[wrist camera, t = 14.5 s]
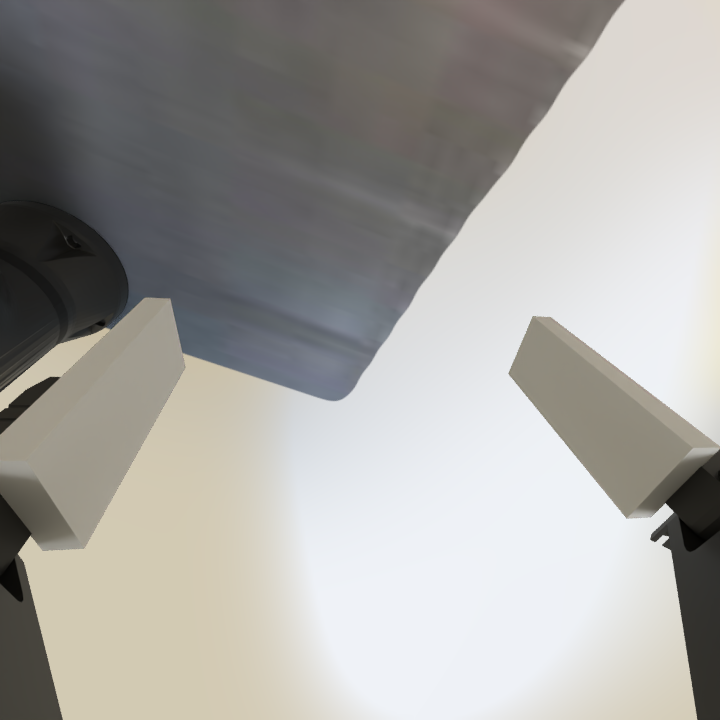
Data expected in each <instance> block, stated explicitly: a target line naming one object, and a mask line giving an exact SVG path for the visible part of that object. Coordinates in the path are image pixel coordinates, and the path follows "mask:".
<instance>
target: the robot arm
mask: <svg viewBox="0 0 720 720" xmlns="http://www.w3.org/2000/svg"><path fill="white" fill-rule="evenodd" d="M127 297H128V284H127V279H126V275H125V272H124V270H123V267H122V265H121V263H120V261H119V260H118V258H117V256H116V255H115V253H114V252H113V250H112V249H111V248H110V247H109V245H108V244H107V243H106V242H105V241H104V240H103V239H102V238H101V237H100V236H99V235H98V234H97V233H96V232H95V231H93V230H92V229H91V228H90V227H88V226H87V225H86V224H84V223H83V222H81V221H80V220H78V219H77V218H75V217H73V216H71V215H70V214H68V213H66V212H64V211H61V210H59V209H57V208H54V207H51V206H48V205H45V204H41V203H36V202H30V201H9V202H3V203H0V392H1V391H2V390H4V389H5V388H6V387H7V386H8V385H9V384H11V383H12V382H13V381H14V380H15V379H17V378H18V377H19V376H20V375H21V374H23V373H24V372H25V371H26V370H27V369H28V368H30V367H31V366H32V365H33V364H34V363H36V362H37V361H38V360H39V359H40V358H42V357H43V356H44V355H45V354H46V353H48V352H49V351H50V350H51V349H52V348H54V347H55V346H56V345H57V344H60V343H63V342H67V341H70V340H74V339H77V338H80V337H84V336H88V335H91V334H94V333H96V332H98V331H100V330H102V329H103V328H105V327H107V326H108V325H109V324H110V323H111V322H112V321H114V320H115V319H116V318H117V317H118V316H119V315H120V314H121V312H122V311H123V309H124V307H125V305H126V302H127ZM184 369H185V364H184V359H183V354H182V350H181V345H180V341H179V336H178V332H177V327H176V322H175V318H174V313H173V309H172V304H171V300H170V299H165V298H144V299H143V300H142V301H141V302H140V303H139V304H138V305H137V306H136V307H134V308H133V309H132V310H131V311H130V312H129V313H128V314H127V315H126V316H125V317H124V318H123V319H122V320H121V321H120V322H119V323H118V324H117V325H115V326H114V327H113V328H112V329H111V330H110V331H109V332H108V333H107V334H106V335H105V336H104V337H103V338H102V339H101V340H100V341H99V342H98V343H97V344H95V345H94V346H93V347H92V348H91V349H90V350H89V351H88V352H87V353H86V354H85V355H84V356H83V357H82V358H81V359H80V360H79V361H78V362H77V363H75V364H74V365H73V366H72V368H70V369H69V370H68V371H67V372H66V373H65V374H64V375H63V376H62V377H49V378H47V379H46V380H44V381H42V382H40V383H38V384H36V385H34V386H32V387H30V388H29V389H27V390H25V391H24V392H23V393H22V394H21V395H20V396H18V397H17V398H16V399H15V400H14V401H13V402H12V403H11V404H9V407H8V408H5V409H4V410H3V411H1V412H0V720H63V719H62V715H61V712H60V707H59V703H58V699H57V695H56V691H55V687H54V683H53V679H52V675H51V671H50V666H49V662H48V658H47V654H46V650H45V646H44V642H43V638H42V634H41V630H40V626H39V622H38V618H37V614H36V610H35V606H34V602H33V598H32V594H31V590H30V585H29V581H28V578H27V574H26V569H25V565H24V562H23V561H22V559H20V557H19V555H18V552H19V551H20V549H21V548H22V546H23V545H24V544H25V542H26V541H27V540H28V538H29V537H30V535H31V537H32V538H33V539H34V540H35V541H36V543H37V544H38V545H39V546H40V548H41V549H42V550H43V551H48V550H66V549H84V548H85V546H86V544H87V543H88V541H89V539H90V537H91V535H92V534H93V532H94V530H95V528H96V527H97V525H98V523H99V521H100V519H101V518H102V516H103V514H104V512H105V510H106V509H107V507H108V505H109V503H110V502H111V499H112V498H113V496H114V494H115V493H116V491H117V489H118V487H119V485H120V484H121V482H122V480H123V478H124V476H125V475H126V473H127V471H128V469H129V468H130V466H131V464H132V462H133V460H134V459H135V457H136V455H137V453H138V451H139V450H140V448H141V446H142V444H143V442H144V441H145V439H146V437H147V435H148V434H149V432H150V430H151V428H152V426H153V425H154V423H155V421H156V419H157V417H158V416H159V414H160V412H161V410H162V408H163V407H164V405H165V403H166V401H167V400H168V398H169V396H170V394H171V392H172V391H173V389H174V387H175V385H176V383H177V382H178V380H179V378H180V376H181V374H182V373H183V371H184ZM509 375H510V376H511V377H512V379H513V380H514V381H515V382H516V384H517V385H518V386H519V387H520V389H521V390H522V391H523V392H524V393H525V395H526V396H527V397H528V398H529V400H530V401H531V402H532V403H533V404H534V406H535V407H536V408H537V409H538V410H539V412H540V413H541V414H542V415H543V417H544V418H545V419H546V420H547V422H548V423H549V424H550V425H551V426H552V427H553V429H554V430H555V431H556V433H557V434H558V435H559V436H560V437H561V439H562V440H563V441H564V442H565V444H566V445H567V446H568V447H569V449H570V450H571V451H572V452H573V453H574V455H575V456H576V457H577V458H578V460H579V461H580V462H581V463H582V464H583V466H584V467H585V468H586V469H587V470H588V472H589V473H590V474H591V475H592V477H593V478H594V479H595V480H596V482H597V483H598V484H599V485H600V486H601V488H602V489H603V490H604V491H605V492H606V494H607V495H608V496H609V497H610V499H612V501H613V502H614V504H615V505H616V506H617V507H618V508H619V510H621V512H622V513H623V514H624V516H625V517H626V518H645V517H652V516H653V515H654V514H655V513H656V512H657V511H658V510H659V509H660V508H661V507H662V506H663V505H664V504H665V503H666V504H667V505H668V506H669V507H670V508H671V509H672V510H673V511H674V513H673V514H672V515H671V516H670V517H669V518H668V519H667V520H666V521H665V522H664V523H663V524H662V525H661V526H660V527H659V528H658V529H656V531H654V532H653V533H652V535H651V540H652V541H654V542H656V541H657V540H658V539H659V538H660V537H661V536H662V535H665V536H669V539H668V540H667V541H666V542H665V543H664V544H663V546H664V547H666V548H668V549H670V550H671V552H672V559H673V564H674V571H675V578H676V584H677V591H678V597H679V603H680V610H681V617H682V623H683V629H684V636H685V642H686V649H687V655H688V662H689V668H690V674H691V681H692V687H693V694H694V700H695V707H696V713H697V719H698V720H720V446H719V445H717V444H716V443H715V442H713V441H712V440H711V439H709V438H708V437H707V436H705V435H704V434H703V433H702V432H700V431H699V430H698V429H696V428H695V427H694V426H692V425H691V424H690V423H689V422H687V421H686V420H685V419H683V418H682V417H681V416H679V415H678V414H677V413H675V412H674V411H673V410H671V409H670V408H669V407H668V406H666V405H665V404H663V403H662V402H661V401H660V400H658V399H657V398H656V397H654V396H653V395H652V394H651V393H649V392H648V391H647V390H645V389H644V388H643V387H641V386H640V385H639V384H637V383H636V382H635V381H634V380H632V379H631V378H630V377H628V376H627V375H626V374H624V373H623V372H622V371H620V370H619V369H618V368H617V367H615V366H614V365H613V364H611V363H610V362H609V361H607V360H606V359H605V358H603V357H602V356H601V355H600V354H598V353H597V352H596V351H594V350H593V349H592V348H590V347H589V346H588V345H586V344H585V343H584V342H582V341H581V340H580V339H579V338H577V337H576V336H575V335H573V334H572V333H571V332H569V331H568V330H567V329H565V328H564V327H563V326H562V325H560V324H559V323H558V322H556V321H555V320H554V319H552V318H551V317H536V316H533V317H532V320H531V322H530V324H529V327H528V329H527V331H526V334H525V336H524V338H523V341H522V343H521V345H520V348H519V350H518V352H517V355H516V357H515V360H514V362H513V364H512V366H511V369H510V371H509Z"/></svg>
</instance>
